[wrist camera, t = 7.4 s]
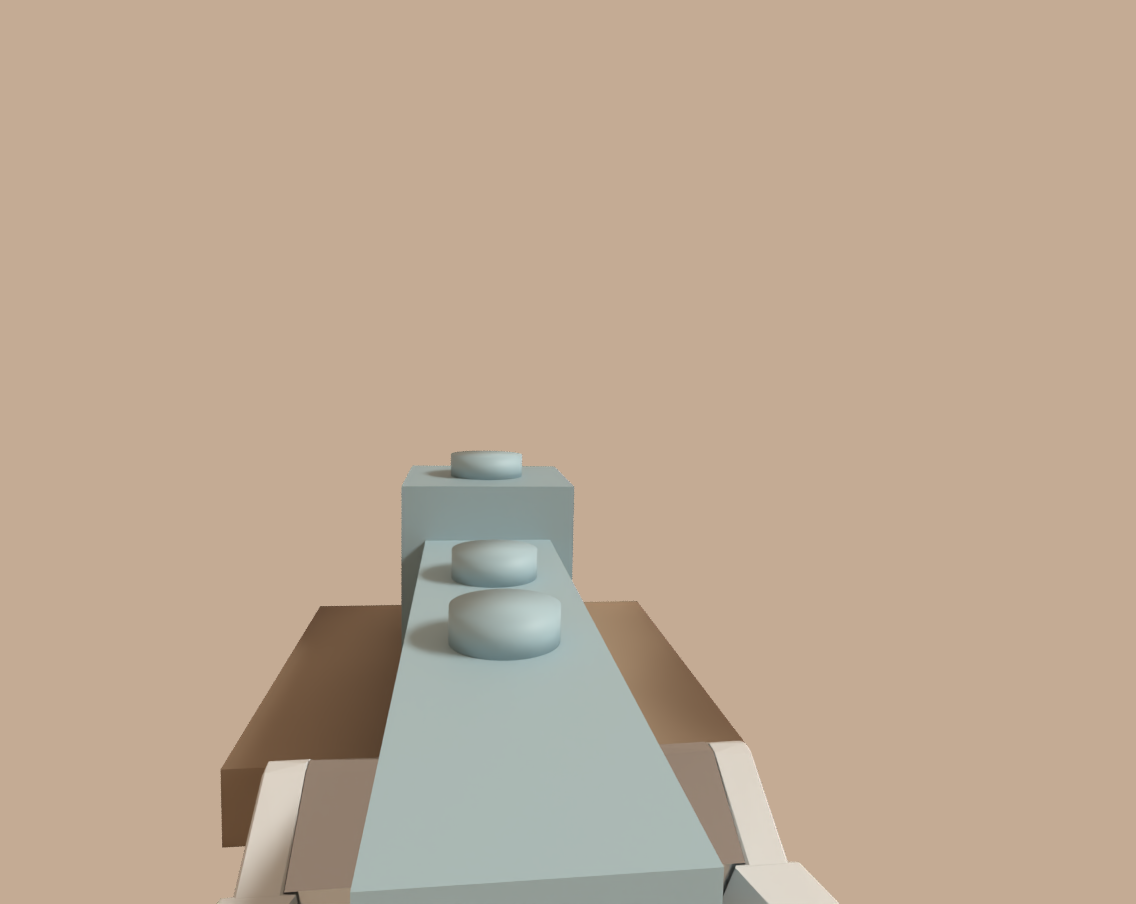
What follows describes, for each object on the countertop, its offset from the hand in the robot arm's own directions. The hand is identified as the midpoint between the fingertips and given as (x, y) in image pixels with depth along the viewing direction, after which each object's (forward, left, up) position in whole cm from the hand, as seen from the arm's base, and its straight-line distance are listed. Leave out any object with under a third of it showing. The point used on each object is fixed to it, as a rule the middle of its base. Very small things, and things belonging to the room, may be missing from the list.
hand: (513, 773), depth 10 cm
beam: (0, -5, -2) cm, 6 cm away
